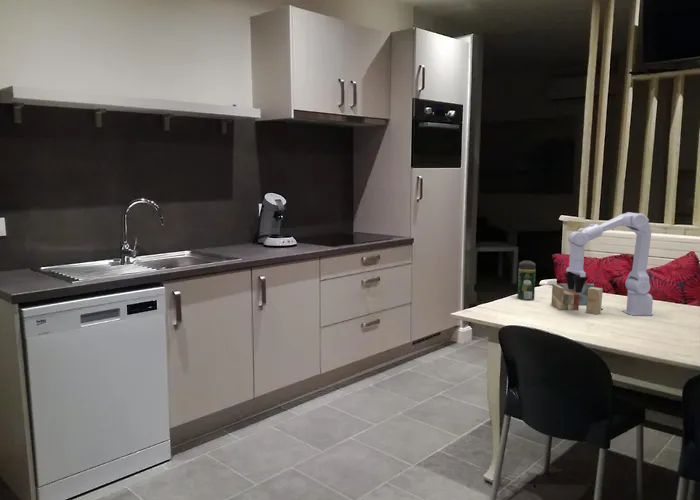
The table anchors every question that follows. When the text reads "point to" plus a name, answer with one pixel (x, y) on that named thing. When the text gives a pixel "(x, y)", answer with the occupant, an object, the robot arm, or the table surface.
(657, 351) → the table surface
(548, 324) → the table surface
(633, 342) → the table surface
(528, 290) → the coffee jar
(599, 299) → the box
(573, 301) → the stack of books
